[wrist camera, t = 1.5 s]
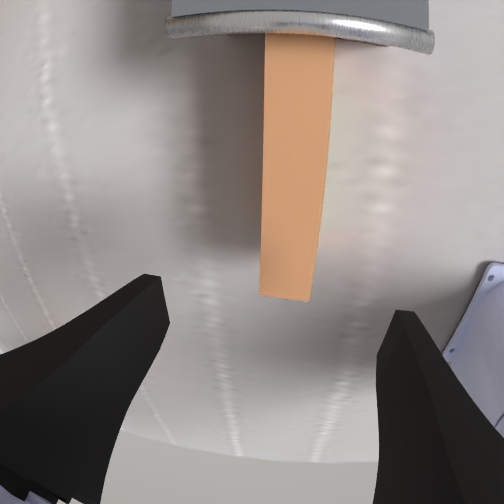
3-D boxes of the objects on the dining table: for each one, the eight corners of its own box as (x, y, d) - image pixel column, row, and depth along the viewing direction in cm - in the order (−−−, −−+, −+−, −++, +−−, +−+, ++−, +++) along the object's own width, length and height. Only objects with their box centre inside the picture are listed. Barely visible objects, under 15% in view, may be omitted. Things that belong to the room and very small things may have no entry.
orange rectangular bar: (314, 247, 19) (309, 302, 15) (275, 242, 19) (259, 295, 15) (331, -29, 10) (333, -67, 6) (283, -32, 11) (266, -69, 6)
